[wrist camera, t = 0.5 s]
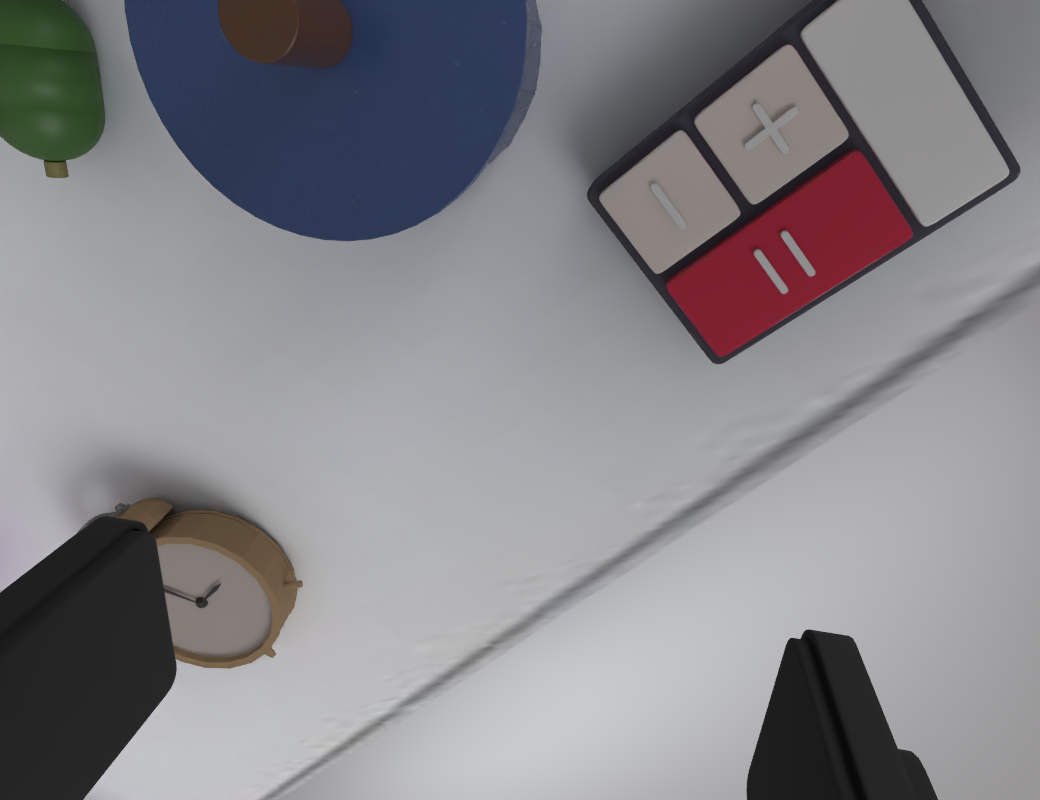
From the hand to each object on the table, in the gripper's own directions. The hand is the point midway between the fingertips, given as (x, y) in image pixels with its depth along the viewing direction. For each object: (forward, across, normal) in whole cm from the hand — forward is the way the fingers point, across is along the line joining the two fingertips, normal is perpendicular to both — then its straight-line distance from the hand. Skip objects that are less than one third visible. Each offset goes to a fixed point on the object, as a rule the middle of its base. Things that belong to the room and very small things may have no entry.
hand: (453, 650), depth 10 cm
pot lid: (+20, +10, -9) cm, 24 cm away
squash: (+29, +28, -6) cm, 41 cm away
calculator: (+30, -9, -5) cm, 31 cm away
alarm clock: (+30, +25, +25) cm, 46 cm away
